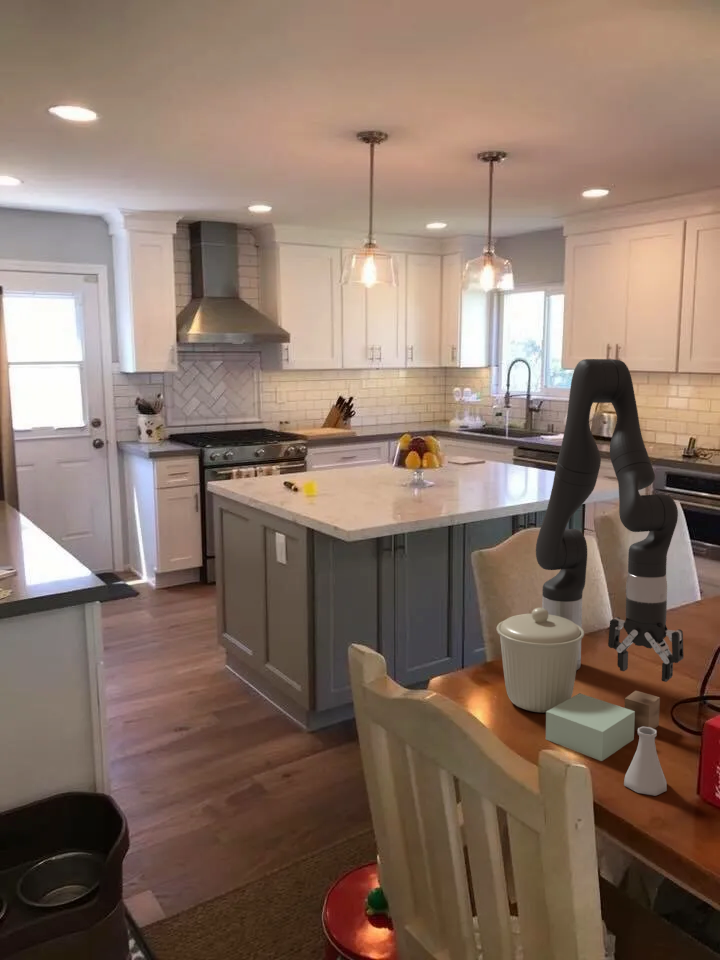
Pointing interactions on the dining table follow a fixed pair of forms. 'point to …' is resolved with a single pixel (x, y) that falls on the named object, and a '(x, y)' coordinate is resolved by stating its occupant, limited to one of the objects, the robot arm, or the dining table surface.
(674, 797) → the dining table surface
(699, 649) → the dining table surface
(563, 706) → the sage box
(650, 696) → the walnut block
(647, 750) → the flask
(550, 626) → the canister
